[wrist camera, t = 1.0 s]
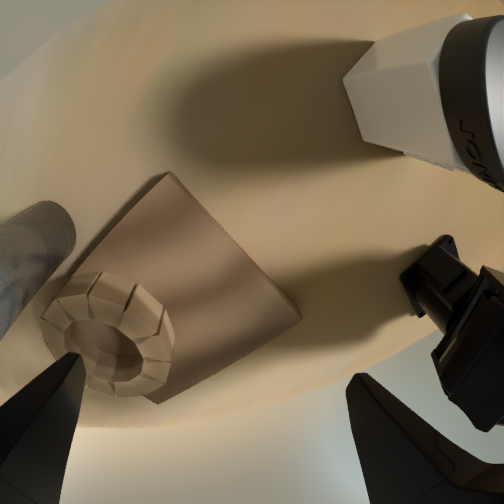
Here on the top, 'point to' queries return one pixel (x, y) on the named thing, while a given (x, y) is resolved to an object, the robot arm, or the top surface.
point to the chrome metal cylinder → (31, 255)
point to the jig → (164, 301)
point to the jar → (436, 95)
